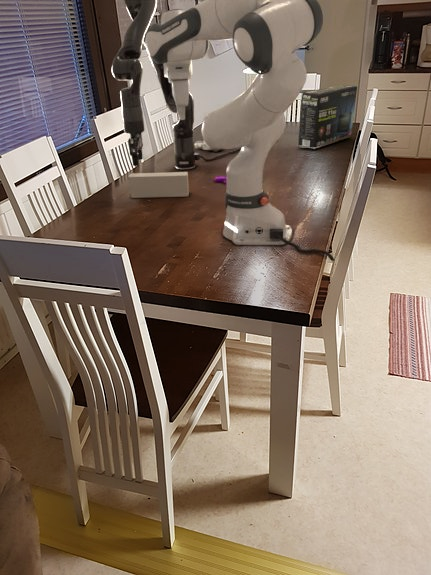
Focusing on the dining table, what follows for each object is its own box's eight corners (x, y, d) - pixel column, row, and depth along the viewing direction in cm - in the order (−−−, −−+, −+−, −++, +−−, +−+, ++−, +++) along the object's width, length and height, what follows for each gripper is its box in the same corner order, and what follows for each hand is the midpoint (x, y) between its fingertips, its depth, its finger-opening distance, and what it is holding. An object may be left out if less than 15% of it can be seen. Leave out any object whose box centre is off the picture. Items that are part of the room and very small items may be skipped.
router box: (314, 151, 231) (318, 94, 217) (296, 148, 237) (299, 92, 224) (352, 138, 251) (358, 85, 238) (335, 135, 258) (340, 83, 245)
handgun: (214, 180, 197) (213, 176, 196) (231, 178, 198) (231, 174, 197) (224, 196, 180) (223, 191, 179) (243, 193, 181) (242, 189, 180)
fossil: (218, 146, 231) (198, 127, 234) (207, 163, 238) (188, 145, 241) (236, 144, 245) (217, 126, 248) (226, 160, 252) (207, 143, 255)
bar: (189, 192, 185) (187, 171, 181) (188, 196, 181) (186, 175, 177) (133, 194, 186) (130, 173, 182) (131, 197, 182) (128, 177, 178)
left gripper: (126, 115, 175) (131, 157, 183) (118, 122, 163) (124, 168, 171) (146, 114, 175) (150, 157, 183) (139, 122, 163) (144, 167, 171)
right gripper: (166, 67, 151) (169, 111, 159) (169, 74, 134) (173, 123, 141) (185, 66, 152) (188, 110, 159) (191, 73, 135) (193, 122, 142)
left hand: (138, 162), depth 177 cm, fingers open, 8 cm apart
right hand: (181, 116), depth 150 cm, fingers open, 8 cm apart
